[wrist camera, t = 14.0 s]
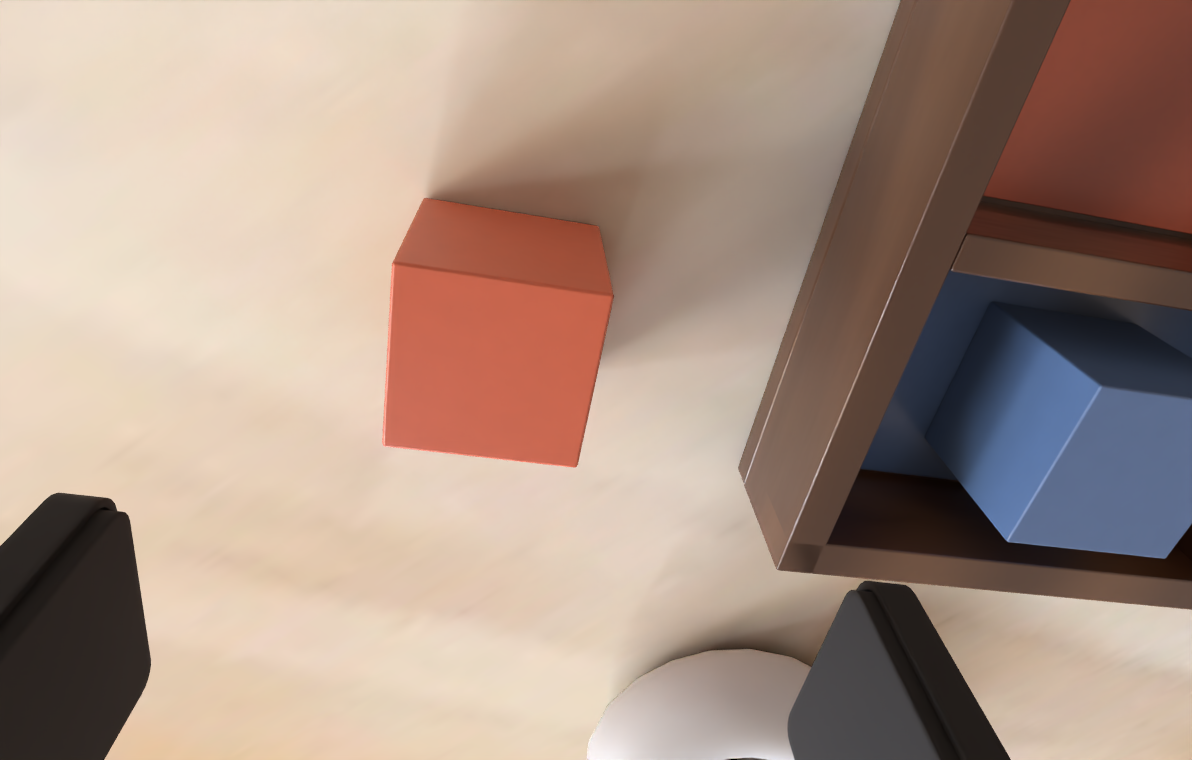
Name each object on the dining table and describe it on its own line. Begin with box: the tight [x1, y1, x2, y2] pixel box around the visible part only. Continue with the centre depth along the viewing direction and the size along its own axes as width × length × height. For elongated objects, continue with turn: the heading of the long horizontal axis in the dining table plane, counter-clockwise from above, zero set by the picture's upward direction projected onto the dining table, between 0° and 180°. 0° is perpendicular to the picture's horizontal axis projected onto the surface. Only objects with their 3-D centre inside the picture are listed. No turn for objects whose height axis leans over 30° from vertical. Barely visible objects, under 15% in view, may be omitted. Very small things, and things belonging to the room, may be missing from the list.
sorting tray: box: [738, 0, 1192, 610], centre depth 17 cm, size 13×17×4 cm
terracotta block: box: [382, 198, 614, 467], centre depth 17 cm, size 4×4×4 cm
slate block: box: [925, 302, 1192, 558], centre depth 18 cm, size 4×4×4 cm
